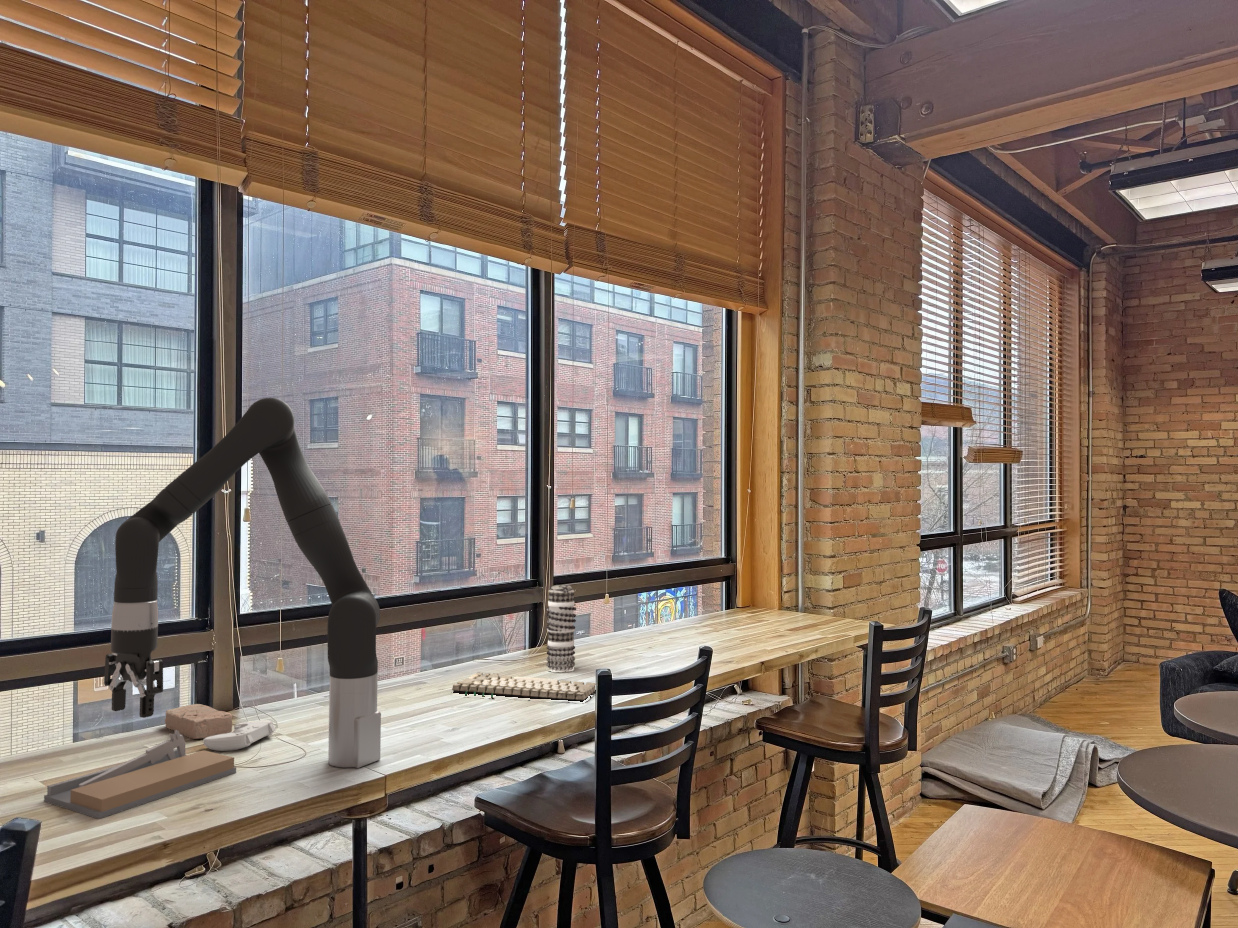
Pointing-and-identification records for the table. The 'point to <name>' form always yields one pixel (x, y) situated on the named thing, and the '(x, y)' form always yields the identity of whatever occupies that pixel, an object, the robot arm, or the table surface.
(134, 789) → the plank board
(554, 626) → the decorative candle
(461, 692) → the mechanical keyboard
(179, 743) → the caliper
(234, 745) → the game controller
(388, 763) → the table surface
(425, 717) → the table surface
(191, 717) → the brick
